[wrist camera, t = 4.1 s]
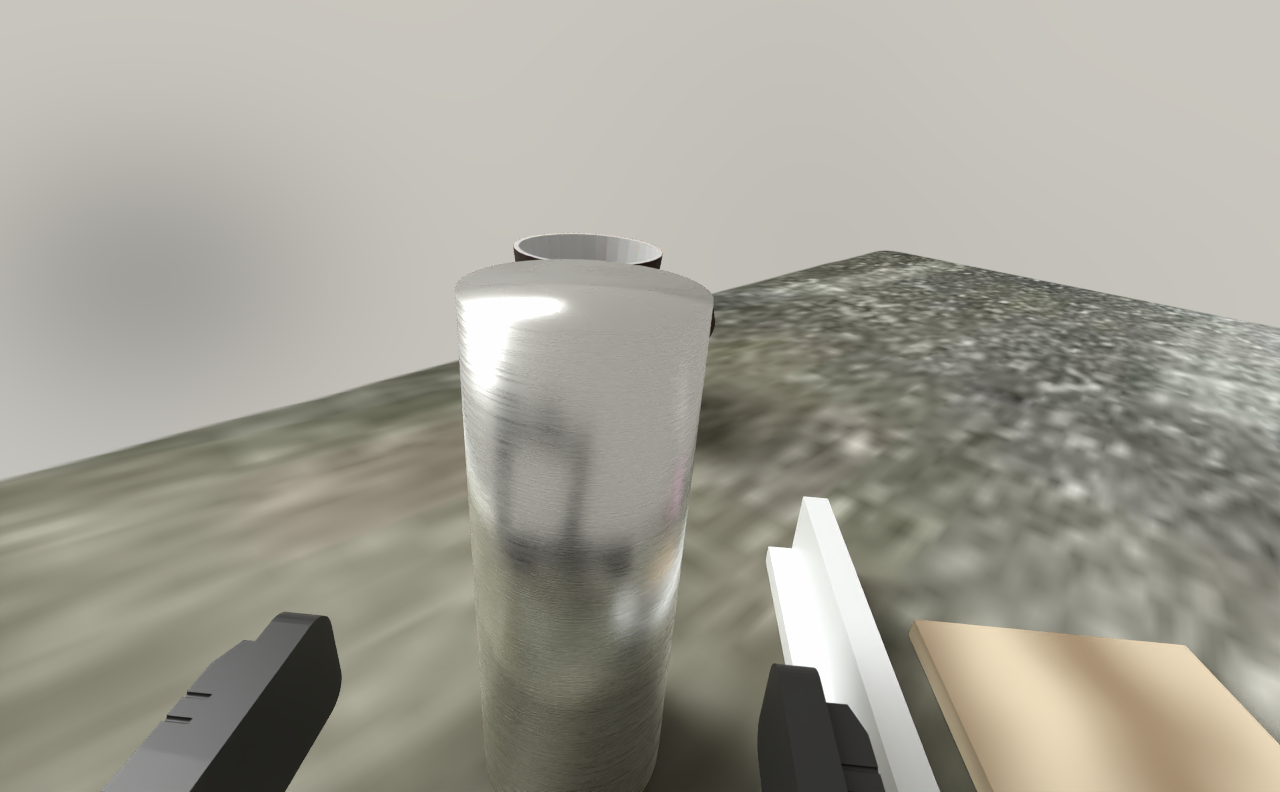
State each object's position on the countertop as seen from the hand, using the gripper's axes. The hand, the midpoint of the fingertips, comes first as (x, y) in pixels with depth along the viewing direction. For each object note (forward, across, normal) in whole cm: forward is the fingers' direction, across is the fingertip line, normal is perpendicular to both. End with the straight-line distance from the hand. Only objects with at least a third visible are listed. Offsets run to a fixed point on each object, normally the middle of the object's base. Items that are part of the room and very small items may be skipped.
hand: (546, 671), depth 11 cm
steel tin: (+4, 0, +8) cm, 9 cm away
